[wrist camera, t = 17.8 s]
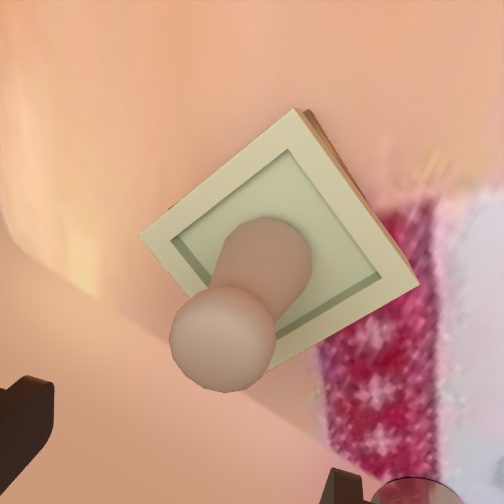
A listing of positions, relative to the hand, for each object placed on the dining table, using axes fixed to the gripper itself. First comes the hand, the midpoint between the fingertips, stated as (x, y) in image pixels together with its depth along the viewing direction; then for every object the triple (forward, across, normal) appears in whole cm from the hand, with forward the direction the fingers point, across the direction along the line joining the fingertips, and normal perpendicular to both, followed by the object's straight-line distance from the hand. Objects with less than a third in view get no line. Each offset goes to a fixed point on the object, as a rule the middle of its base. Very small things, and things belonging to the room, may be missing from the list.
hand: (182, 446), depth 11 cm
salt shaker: (+18, 0, 0) cm, 18 cm away
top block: (+22, 0, 0) cm, 22 cm away
